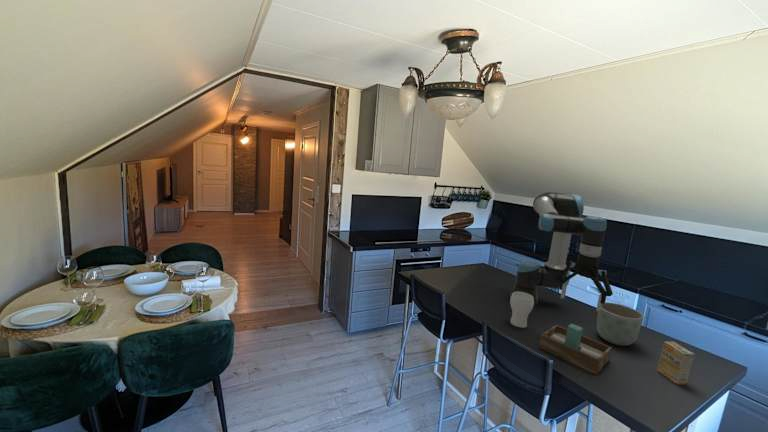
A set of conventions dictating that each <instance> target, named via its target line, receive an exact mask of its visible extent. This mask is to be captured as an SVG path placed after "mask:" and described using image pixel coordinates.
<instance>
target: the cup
mask: <svg viewBox="0 0 768 432" xmlns="http://www.w3.org/2000/svg"><path fill="white" fill-rule="evenodd" d="M509 300H510V301H509V304H510V308H511V311H512V312H511V318H510V320H509V321H510V324H511V325H512V326H514V327H517V328H522V329H523V328H527V327H528V317H529V314H530V313H531V312H532V310H533V309H534V307H535V306H534V298H533V296H532V295H530V294H528V293H524V292H513V293H512V296H511V299H509Z"/></svg>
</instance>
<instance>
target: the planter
mask: <svg viewBox="0 0 768 432" xmlns="http://www.w3.org/2000/svg"><path fill="white" fill-rule="evenodd" d="M644 319H645V316H644V315H643V313H641V312H640V311H638V310H637V309H634V308H633V307H629V306H626V305H623V304H620V303H616V302H615V303H614V302H606V301H605V303H604V304H602V305H601V310H599V311H597V319H596V330H597V333H598V335H599V336H600V337H601V338H602V339H603V340H604V341H606V342H608V343H610V344H613V345H616V346H619V347H620V346H621V347H628V346H630V345H632V344H634V343H635V341H636V340H637V338H638V336H639V333H640V330H641V328H642V325H643V321H644Z"/></svg>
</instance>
